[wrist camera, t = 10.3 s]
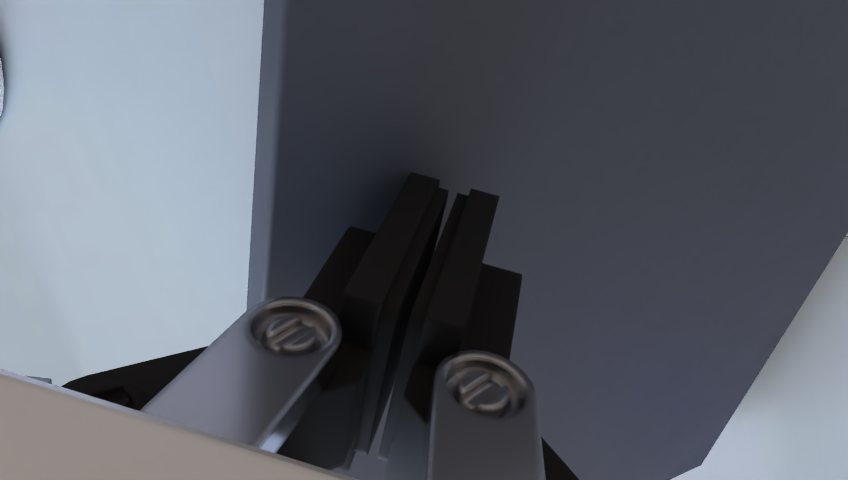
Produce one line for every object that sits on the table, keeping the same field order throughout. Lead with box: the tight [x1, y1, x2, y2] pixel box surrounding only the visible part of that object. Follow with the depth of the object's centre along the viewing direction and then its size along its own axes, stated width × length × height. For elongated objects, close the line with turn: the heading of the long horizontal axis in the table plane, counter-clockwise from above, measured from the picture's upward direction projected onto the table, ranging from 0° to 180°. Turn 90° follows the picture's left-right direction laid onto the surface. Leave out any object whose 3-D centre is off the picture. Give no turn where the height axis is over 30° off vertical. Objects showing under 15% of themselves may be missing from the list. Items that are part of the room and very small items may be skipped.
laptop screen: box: [247, 0, 848, 480], centre depth 17 cm, size 21×30×1 cm
